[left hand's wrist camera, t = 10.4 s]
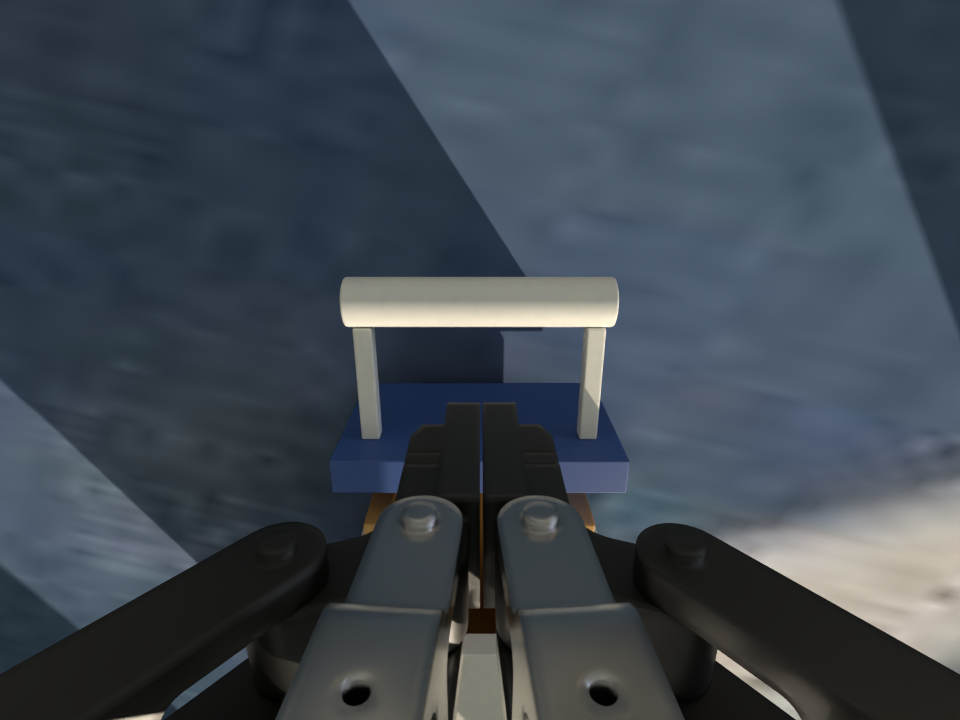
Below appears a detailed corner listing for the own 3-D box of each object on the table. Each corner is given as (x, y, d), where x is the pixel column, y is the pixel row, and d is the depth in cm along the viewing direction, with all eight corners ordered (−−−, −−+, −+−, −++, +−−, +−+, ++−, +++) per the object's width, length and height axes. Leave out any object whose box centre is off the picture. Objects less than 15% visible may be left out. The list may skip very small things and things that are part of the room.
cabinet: (368, 510, 27) (323, 654, 19) (590, 510, 27) (634, 655, 19) (388, 744, 33) (361, 924, 25) (570, 744, 33) (597, 924, 25)
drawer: (355, 250, 21) (309, 290, 15) (603, 251, 21) (649, 290, 15) (387, 653, 29) (364, 780, 23) (571, 653, 29) (593, 780, 23)
